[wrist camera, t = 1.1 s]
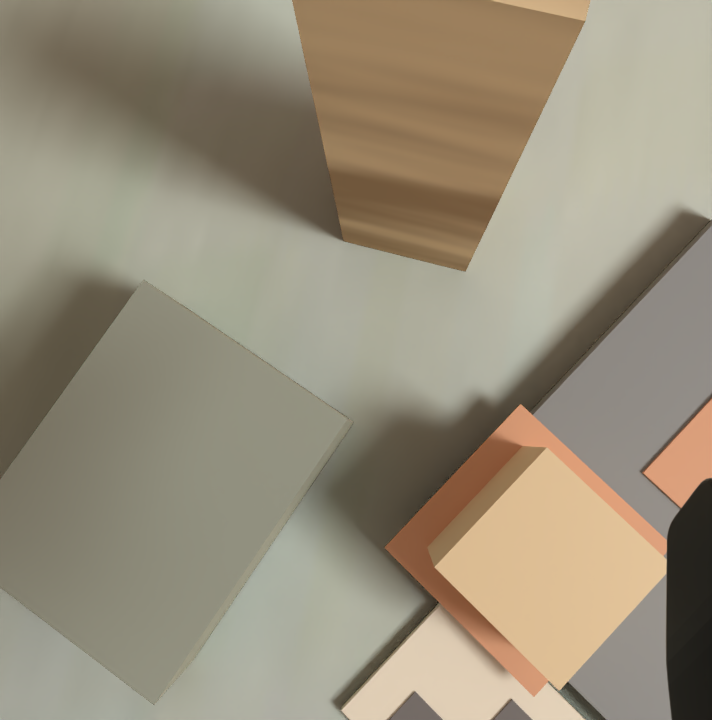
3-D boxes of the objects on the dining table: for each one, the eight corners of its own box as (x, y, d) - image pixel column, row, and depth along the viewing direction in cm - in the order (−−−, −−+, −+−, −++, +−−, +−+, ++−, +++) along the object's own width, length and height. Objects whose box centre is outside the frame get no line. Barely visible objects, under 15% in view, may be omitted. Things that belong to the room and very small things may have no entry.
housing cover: (193, 659, 20) (153, 705, 17) (21, 530, 21) (-50, 548, 18) (354, 422, 21) (347, 418, 18) (182, 304, 22) (143, 279, 18)
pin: (465, 271, 21) (585, 21, 9) (343, 241, 22) (282, -45, 9) (495, 154, 22) (653, -253, 9) (375, 126, 22) (362, -306, 9)
